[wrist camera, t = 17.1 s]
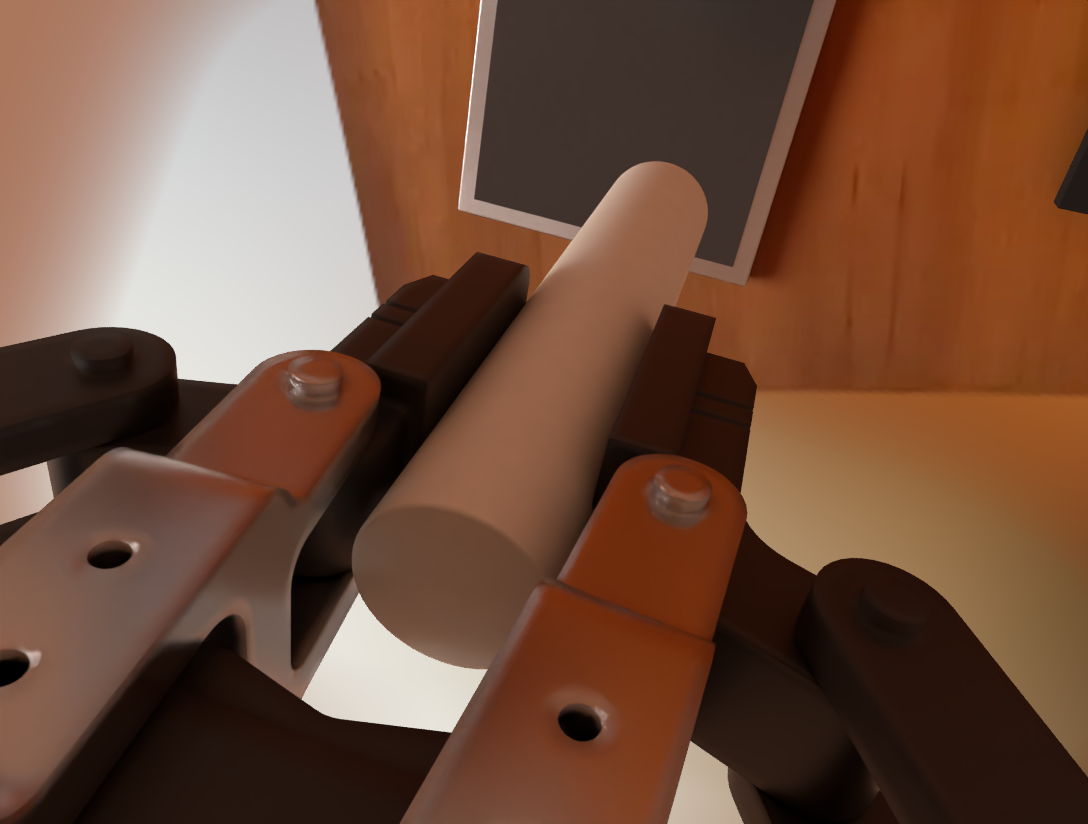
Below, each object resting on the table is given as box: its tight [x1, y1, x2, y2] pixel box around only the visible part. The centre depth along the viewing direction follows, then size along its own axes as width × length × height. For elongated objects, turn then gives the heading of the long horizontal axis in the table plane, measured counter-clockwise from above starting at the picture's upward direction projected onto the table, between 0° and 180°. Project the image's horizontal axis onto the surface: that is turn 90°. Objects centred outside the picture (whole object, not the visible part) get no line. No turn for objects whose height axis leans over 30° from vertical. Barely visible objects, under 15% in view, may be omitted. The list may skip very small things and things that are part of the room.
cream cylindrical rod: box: [352, 161, 708, 669], centre depth 13 cm, size 2×2×12 cm
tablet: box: [458, 0, 837, 286], centre depth 31 cm, size 12×12×1 cm
